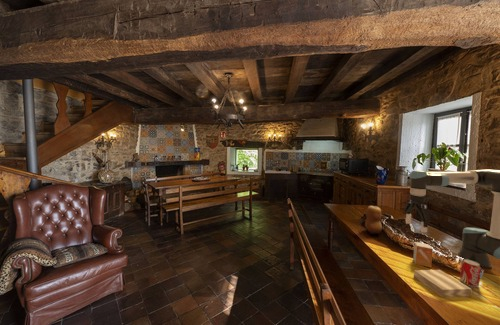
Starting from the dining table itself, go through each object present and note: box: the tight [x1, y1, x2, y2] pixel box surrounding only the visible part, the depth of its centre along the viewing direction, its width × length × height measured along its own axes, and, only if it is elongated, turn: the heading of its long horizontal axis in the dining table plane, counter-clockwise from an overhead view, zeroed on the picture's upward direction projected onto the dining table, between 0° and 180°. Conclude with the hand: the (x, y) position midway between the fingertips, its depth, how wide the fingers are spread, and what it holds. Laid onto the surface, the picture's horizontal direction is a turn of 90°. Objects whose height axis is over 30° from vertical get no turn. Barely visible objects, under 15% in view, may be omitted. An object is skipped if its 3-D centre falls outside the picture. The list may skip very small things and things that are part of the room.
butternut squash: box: [364, 205, 383, 235], centre depth 176 cm, size 14×13×25 cm
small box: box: [412, 241, 434, 269], centre depth 128 cm, size 8×6×13 cm
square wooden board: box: [413, 269, 472, 298], centre depth 107 cm, size 16×16×4 cm
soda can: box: [459, 259, 482, 288], centre depth 108 cm, size 7×7×13 cm
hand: (415, 227), depth 121 cm, fingers open, 13 cm apart
